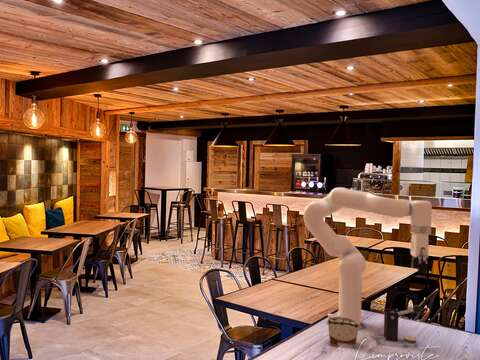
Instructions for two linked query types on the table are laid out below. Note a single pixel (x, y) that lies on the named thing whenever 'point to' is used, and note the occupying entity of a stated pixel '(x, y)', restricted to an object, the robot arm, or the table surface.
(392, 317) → the black upright box
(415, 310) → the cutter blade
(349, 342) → the food container
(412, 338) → the cake
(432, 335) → the table surface
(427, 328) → the table surface
